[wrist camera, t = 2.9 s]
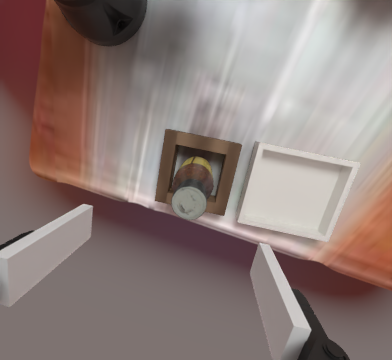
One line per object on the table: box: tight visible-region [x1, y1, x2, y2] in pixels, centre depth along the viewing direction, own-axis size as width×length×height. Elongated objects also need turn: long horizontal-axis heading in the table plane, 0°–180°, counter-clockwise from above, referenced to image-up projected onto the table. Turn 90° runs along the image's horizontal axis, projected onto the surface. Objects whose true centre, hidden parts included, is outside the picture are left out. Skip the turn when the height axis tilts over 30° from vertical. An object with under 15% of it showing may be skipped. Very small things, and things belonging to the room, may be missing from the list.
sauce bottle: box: [171, 156, 214, 220], centre depth 32 cm, size 7×6×20 cm
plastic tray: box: [236, 142, 361, 242], centre depth 39 cm, size 18×16×4 cm
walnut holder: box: [155, 129, 242, 216], centre depth 39 cm, size 14×14×4 cm
